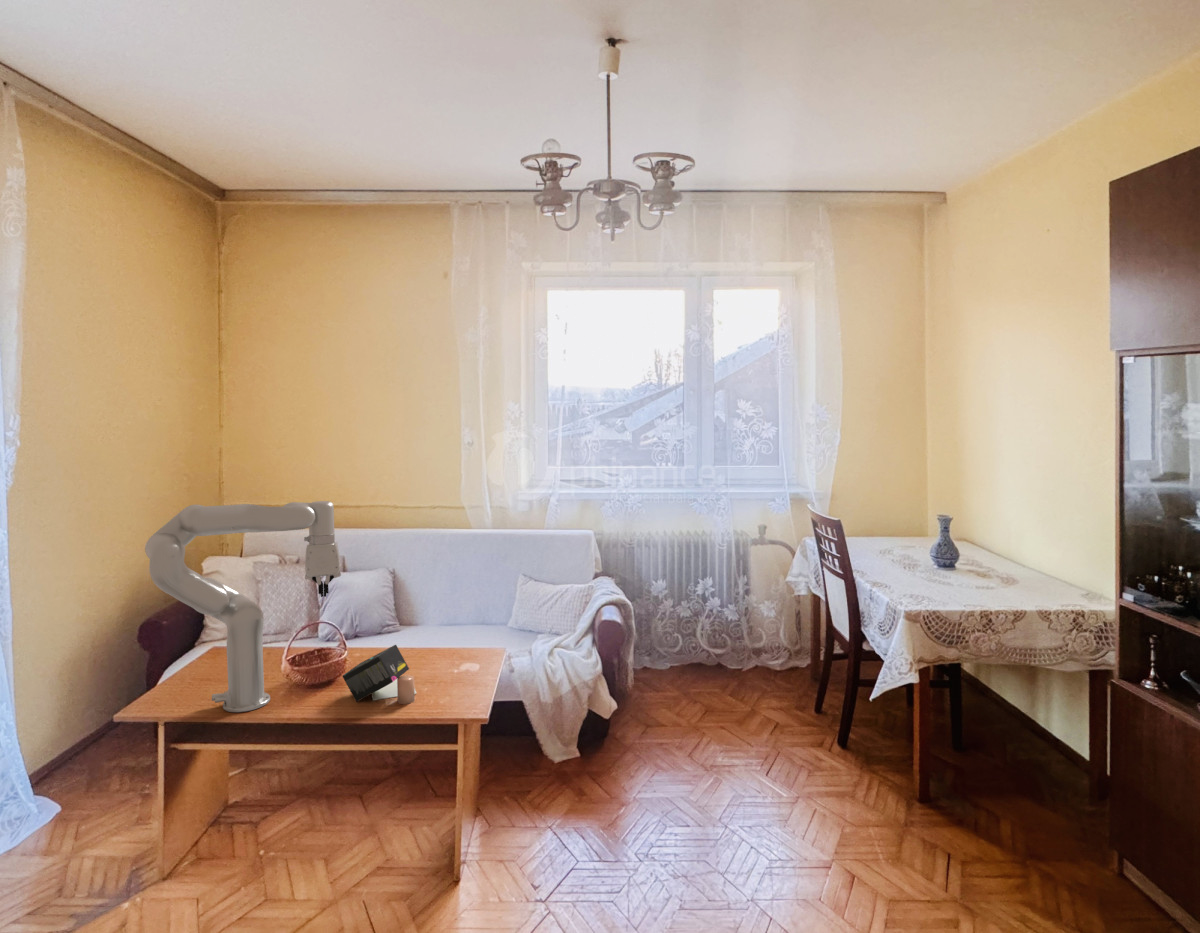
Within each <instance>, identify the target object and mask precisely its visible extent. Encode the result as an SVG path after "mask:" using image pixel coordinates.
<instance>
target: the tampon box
mask: <svg viewBox="0 0 1200 933" xmlns="http://www.w3.org/2000/svg"><path fill="white" fill-rule="evenodd" d="M409 670H410V668H409V666H408V664H407V662H406V660H405V658H404V656H403V655H402V652H401V651H400V650H399V647H398V646H397V644H393V645H391V646H390V647H388V648H386V649H384V650H382V651H380V652H379V653H377V654H375V655H373V656H371V657H369V658H367V659H366V660H363V661H361V662H359V664H357V665H355V666H354V667H353V668H351V669H350V670H349V671H347V672H346V673H344V674H343V675H342V679H343V680H344V682H345V684H346V686H347V688H348V689H349V691H350V693H351V695H352V698H354V701H355V702H359V701H361V700H362V699H364V698H366V697H368V696H370V695H372V693H374V692H376V691H378V690H379V689H381V688H383V687H385V686H387V685H389V684H390V683H392V682H393V681H395V680H396V679H397V678H399V677H401V676H403V675H404V674H405V673H406V672H407V671H409Z"/></svg>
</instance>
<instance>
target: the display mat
mask: <svg viewBox="0 0 1200 933" xmlns="http://www.w3.org/2000/svg"><path fill="white" fill-rule="evenodd" d="M397 679H398V678H397ZM397 679H396V680H395V681H393V682H392V683H390V684H389V685H387V686H385V687H383V688H381V689H379V690H378V691H376V692H374V693H372V694H371V697H372V701H378V700H387V699H392V698H398V695H397ZM414 691H415V695H417V691H416V687H415V686H414Z"/></svg>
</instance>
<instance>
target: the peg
mask: <svg viewBox="0 0 1200 933" xmlns="http://www.w3.org/2000/svg"><path fill="white" fill-rule="evenodd" d="M414 687H415V676H414V675H408V674H407V675H401V676H400V677H399V678H398V679H397V695H398V697H397V703H398V704H400V705H410V704H412V703H414V702H415V695H416V694H415V691H414Z"/></svg>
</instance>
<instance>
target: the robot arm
mask: <svg viewBox="0 0 1200 933" xmlns="http://www.w3.org/2000/svg"><path fill="white" fill-rule="evenodd" d="M334 506H335V505H334V503H333V502H331V501H329V500H320V501H317V500H316V501H312V502H300V501H299V502H297V501H293V502H289V503H288V502H287V503H285V504H284V505H283V506H282V505H281V506H269V505H268V506H267V505H266V506H265V505H258V504H250V503H240V504H228V505H205V506H204V505H202V504H191V505H188V506H186V507H185V508H183V509H182V510H181V511H179V512H178V513H176V515H175V516H173V517H172V518H171V519H170V520H168V522H166V523H165V524H164V525H162V526H161V528H159V529H158V530H157V531H156V532H154V533H153V534H152V535H151V536H150V537H149V538H148V540H147V541H146V543H145V546H144V552H145V554H146V556H147V558H148V559H149V564H148V565H149V566H148V567H149V571H148V572H149V575H150V578H151V580H152V582H153V584H154V585H155V587H157V588H158V589H160V590H161V591H162V592H163V593H165V594H167V595H169V596H171V597H173V598H174V599H176V600H178V601H180V603H183V604H185V605H186V606H189V607H191V609H194V610H195V611H196V612H198V613H199V614H202V615H207V616H210V617H213V618H214V619H216V620H218V621H220V622H222V623H223V624H225V625H226V629H227V632H226V633H227V635H226V661H227V663H226V664H227V686H228V687H227V691H224V692H222V693H213V694H211V701H212V702H213V701H214V703H215V704H216V703H221V702H223V704H222V709H223V710H224V711H226V712H230V713H243V712H244V713H245V712H250V711H254V710H256V709H259V708H262V707H264V706H266V705H267V704H269V702H270V701H271V695H270V694H269V693H267V692H265V679H264V676H265V675H264V648H263V637H264V636H263V633H264V624H265V623H264V620H265V618H264V613H263V611H262V609H261V607H260V606H259V605H258V604H257V603H256V602H255V601H253V600H251V599H250V598H249V597H248V596H245V595H244V594H242V593H240V592H239V591H237V590H235V589H233V588H231V587H230V586H228V585H226V584H225V583H222V582H221V581H219V580H217V579H215V578H212V577H205V576H203V575H201V574H199V573H198V572H197V571H194V569H191V568H189V567H188V566H187V565H186V563H185V556H186V546H188V545H189V544H190V543H191V542H192V541H193V540H194V539H195V538H196V537H206V536H207V537H209V536H220V535H230V534H231V535H232V534H242V533H243V534H245V533H267V532H288V531H300V530H306V529H307V528H308V536H305V537H304V540H303V541H304V542H308V544H306V548H305V549H306V550H305V557H304V558H305V559H304V560H305V562H304V563H305V564H304V565H305V568H304V569H305V570H304V571H305V576H304V579H305V580H308V581H309V580H310V581H313V582H314V583H315V584H317V587H318V588H317V589H318V595H320V598H323V597H326V598H327V594H329V584H330V583H331V582H332V581H333V579H336V578H339V577H341V576H342V574H341V570H340V569H341V565H340V564H341V561H340V552H339V547H338V543H337V542H336V541H335V540H336V538H335V508H334ZM324 576H325V580H324V582H323V581H322V577H324Z"/></svg>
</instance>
